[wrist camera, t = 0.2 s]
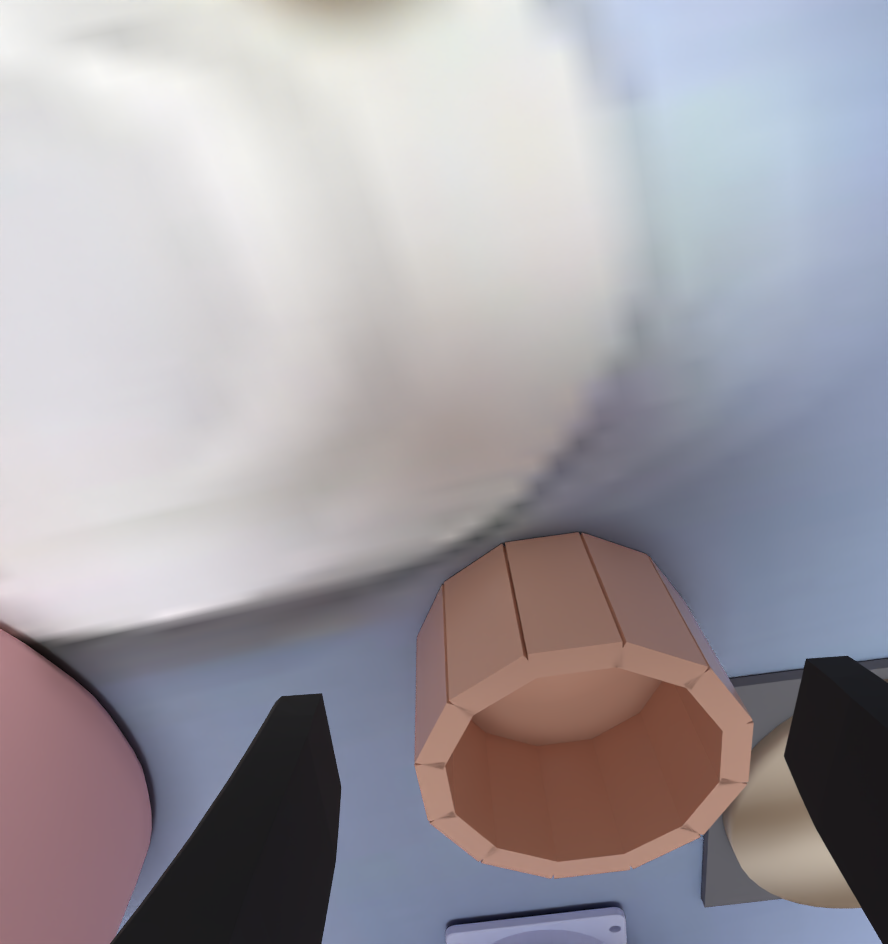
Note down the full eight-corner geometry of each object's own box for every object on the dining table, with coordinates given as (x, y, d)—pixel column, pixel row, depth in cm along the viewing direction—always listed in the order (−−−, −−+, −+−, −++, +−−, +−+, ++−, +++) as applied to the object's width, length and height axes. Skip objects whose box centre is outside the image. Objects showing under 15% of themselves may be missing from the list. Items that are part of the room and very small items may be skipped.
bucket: (682, 724, 24) (741, 856, 19) (441, 755, 24) (445, 891, 20) (687, 517, 20) (762, 623, 15) (399, 557, 20) (391, 671, 16)
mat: (1001, 863, 28) (1008, 872, 28) (701, 897, 29) (704, 907, 28) (1089, 632, 22) (1100, 640, 22) (711, 680, 23) (716, 689, 23)
